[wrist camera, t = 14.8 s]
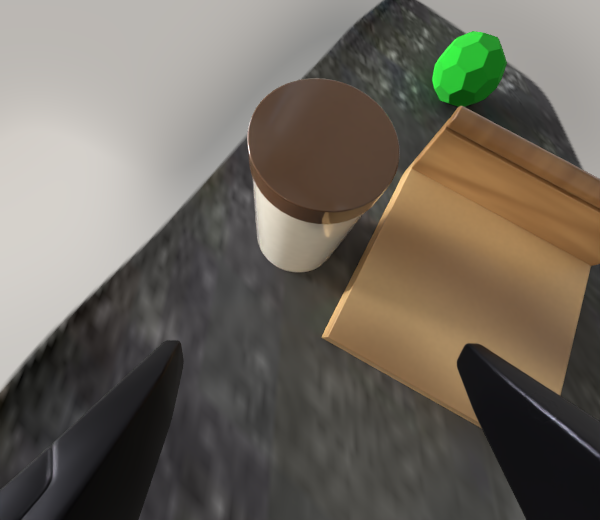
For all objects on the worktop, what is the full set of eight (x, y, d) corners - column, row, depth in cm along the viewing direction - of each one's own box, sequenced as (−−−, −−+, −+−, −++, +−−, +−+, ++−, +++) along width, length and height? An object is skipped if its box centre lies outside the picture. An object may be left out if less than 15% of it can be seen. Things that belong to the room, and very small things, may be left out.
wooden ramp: (516, 448, 19) (665, 511, 12) (321, 337, 19) (353, 335, 12) (566, 260, 23) (698, 225, 16) (404, 172, 23) (463, 100, 16)
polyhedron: (463, 130, 25) (508, 82, 20) (412, 99, 25) (445, 45, 20) (484, 91, 26) (531, 39, 22) (436, 63, 26) (472, 5, 22)
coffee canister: (350, 258, 21) (425, 186, 11) (271, 285, 20) (278, 232, 10) (320, 186, 22) (364, 66, 12) (244, 208, 21) (227, 93, 11)
